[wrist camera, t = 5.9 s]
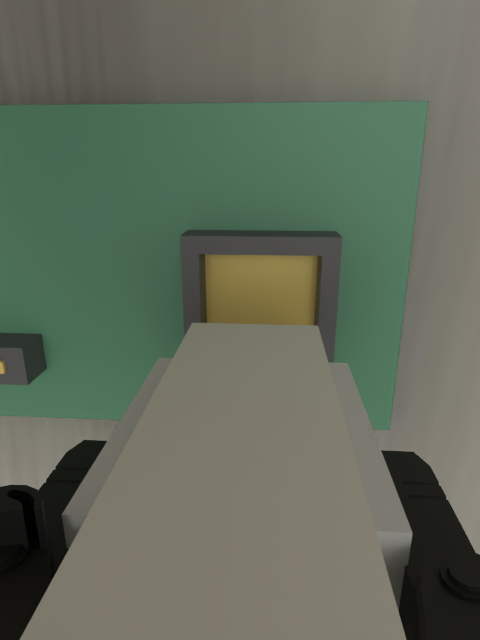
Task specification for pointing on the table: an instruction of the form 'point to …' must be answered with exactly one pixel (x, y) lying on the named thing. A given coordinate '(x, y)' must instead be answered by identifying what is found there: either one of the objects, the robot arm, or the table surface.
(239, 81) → the table surface
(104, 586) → the plug
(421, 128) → the board
